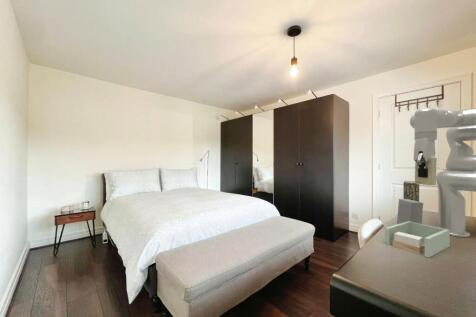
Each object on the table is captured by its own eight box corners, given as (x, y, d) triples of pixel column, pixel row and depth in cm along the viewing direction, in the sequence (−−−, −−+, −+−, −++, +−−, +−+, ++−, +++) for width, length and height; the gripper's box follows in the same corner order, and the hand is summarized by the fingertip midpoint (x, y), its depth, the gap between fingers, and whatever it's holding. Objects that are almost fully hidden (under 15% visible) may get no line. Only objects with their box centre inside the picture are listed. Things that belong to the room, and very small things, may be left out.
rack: (408, 235, 100) (408, 221, 100) (449, 246, 87) (449, 229, 88) (385, 243, 89) (385, 227, 89) (428, 257, 77) (428, 238, 77)
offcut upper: (398, 238, 89) (398, 231, 89) (422, 244, 83) (422, 237, 83) (394, 240, 86) (394, 233, 86) (419, 247, 80) (419, 239, 80)
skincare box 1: (396, 227, 112) (396, 198, 112) (408, 227, 112) (408, 198, 112) (410, 233, 103) (410, 201, 103) (423, 233, 104) (423, 201, 104)
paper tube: (422, 228, 111) (422, 182, 112) (407, 227, 113) (408, 181, 113) (414, 224, 118) (414, 181, 118) (400, 223, 119) (400, 180, 120)
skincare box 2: (414, 183, 95) (414, 157, 95) (420, 183, 96) (420, 157, 96) (431, 185, 89) (431, 157, 89) (437, 185, 90) (437, 157, 91)
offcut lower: (398, 244, 90) (398, 237, 90) (424, 252, 82) (425, 245, 82) (392, 246, 87) (392, 239, 87) (419, 255, 79) (419, 247, 79)
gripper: (422, 138, 100) (422, 176, 100) (406, 136, 92) (406, 177, 92) (443, 137, 94) (443, 177, 94) (428, 134, 85) (428, 178, 85)
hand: (425, 176), depth 93 cm, fingers closed on skincare box 2, 4 cm apart
